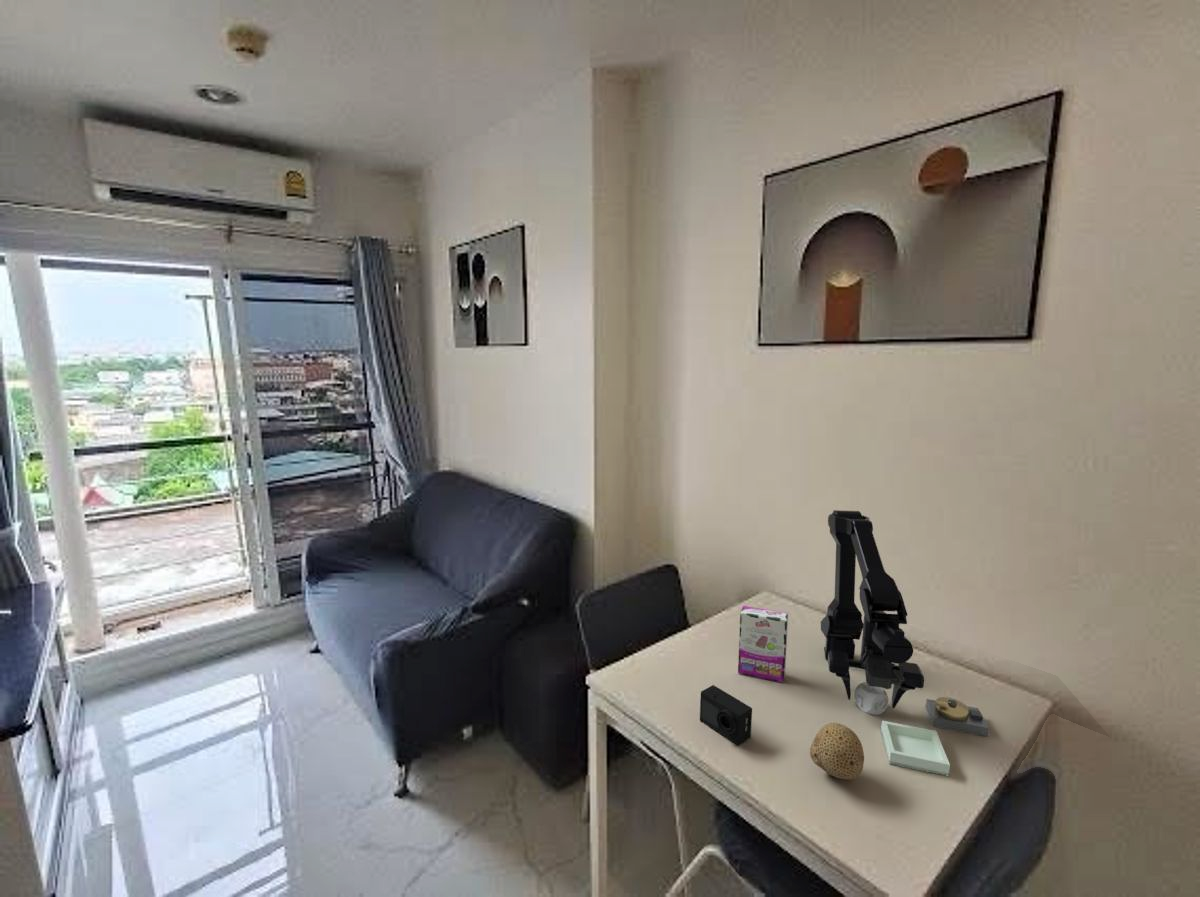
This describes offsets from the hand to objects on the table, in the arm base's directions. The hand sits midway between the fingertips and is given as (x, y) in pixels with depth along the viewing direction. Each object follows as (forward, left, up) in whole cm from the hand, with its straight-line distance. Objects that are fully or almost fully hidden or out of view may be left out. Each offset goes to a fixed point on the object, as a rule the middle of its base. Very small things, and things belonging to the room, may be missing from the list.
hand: (870, 702), depth 122 cm
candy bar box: (-24, +6, -1) cm, 25 cm away
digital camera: (-31, -19, -2) cm, 36 cm away
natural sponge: (-9, -25, -1) cm, 27 cm away
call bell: (+17, +1, -1) cm, 17 cm away
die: (0, 0, -2) cm, 2 cm away
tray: (+6, -13, -1) cm, 14 cm away
